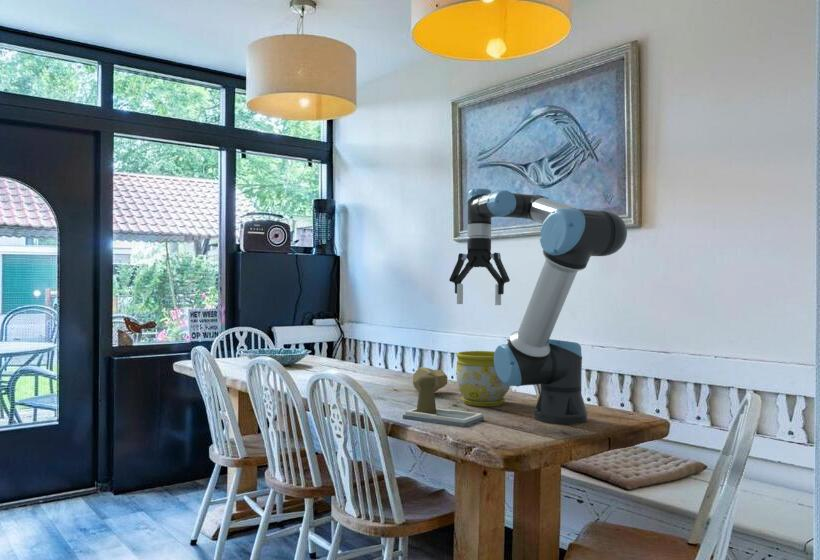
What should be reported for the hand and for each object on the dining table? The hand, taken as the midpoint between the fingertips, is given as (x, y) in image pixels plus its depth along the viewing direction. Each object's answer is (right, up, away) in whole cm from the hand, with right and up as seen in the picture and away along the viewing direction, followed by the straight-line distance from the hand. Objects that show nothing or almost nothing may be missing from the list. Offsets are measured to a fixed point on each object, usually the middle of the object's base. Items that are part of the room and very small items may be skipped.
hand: (478, 304), depth 204 cm
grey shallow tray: (-12, -32, -19) cm, 39 cm away
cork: (-17, -32, -16) cm, 39 cm away
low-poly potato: (-15, -33, +25) cm, 44 cm away
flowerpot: (+2, -33, +7) cm, 34 cm away
